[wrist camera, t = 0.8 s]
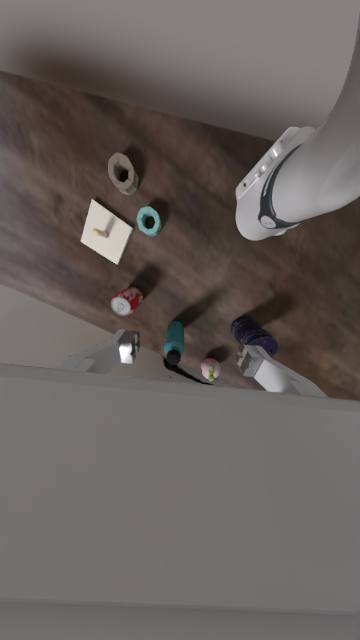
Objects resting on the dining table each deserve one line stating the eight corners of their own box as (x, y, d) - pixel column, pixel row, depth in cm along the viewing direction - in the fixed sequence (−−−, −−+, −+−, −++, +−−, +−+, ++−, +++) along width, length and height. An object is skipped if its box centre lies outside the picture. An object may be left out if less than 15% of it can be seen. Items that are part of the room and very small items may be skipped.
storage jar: (226, 334, 55) (241, 359, 41) (235, 313, 51) (254, 334, 37) (248, 338, 55) (269, 363, 42) (258, 318, 51) (285, 339, 38)
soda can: (147, 292, 48) (136, 303, 37) (139, 307, 50) (127, 321, 39) (129, 282, 46) (113, 289, 35) (122, 298, 49) (105, 310, 38)
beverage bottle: (168, 318, 52) (161, 349, 34) (184, 319, 52) (186, 352, 34) (167, 331, 55) (160, 367, 37) (183, 333, 55) (183, 369, 37)
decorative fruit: (218, 365, 63) (224, 383, 54) (201, 368, 64) (204, 386, 55) (216, 350, 59) (222, 367, 50) (198, 353, 60) (201, 370, 51)
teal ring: (146, 206, 37) (143, 201, 33) (164, 220, 38) (163, 217, 35) (137, 227, 39) (133, 224, 36) (155, 240, 40) (152, 238, 37)
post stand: (94, 200, 36) (78, 190, 31) (133, 228, 39) (125, 223, 33) (83, 241, 41) (67, 239, 35) (118, 264, 43) (109, 265, 38)
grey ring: (115, 160, 33) (108, 149, 29) (139, 168, 33) (134, 158, 30) (115, 191, 35) (108, 184, 32) (137, 197, 36) (132, 191, 32)
